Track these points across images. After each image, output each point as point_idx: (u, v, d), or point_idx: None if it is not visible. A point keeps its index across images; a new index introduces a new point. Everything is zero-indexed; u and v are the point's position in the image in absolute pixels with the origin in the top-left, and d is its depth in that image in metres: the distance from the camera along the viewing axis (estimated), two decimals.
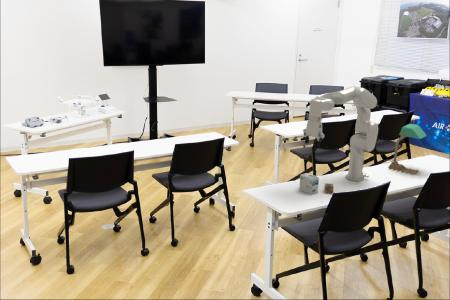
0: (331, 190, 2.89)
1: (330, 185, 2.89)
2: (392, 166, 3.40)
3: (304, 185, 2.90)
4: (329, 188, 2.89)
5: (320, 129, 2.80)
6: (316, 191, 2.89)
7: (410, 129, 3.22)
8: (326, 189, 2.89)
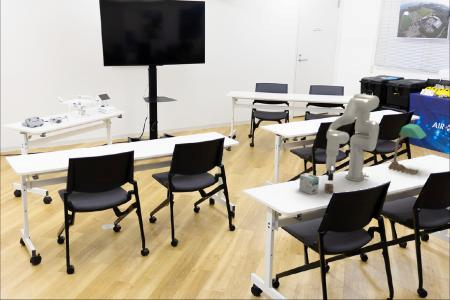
0: (331, 190, 2.89)
1: (330, 185, 2.89)
2: (392, 166, 3.40)
3: (304, 185, 2.90)
4: (329, 188, 2.88)
5: None
6: (316, 191, 2.89)
7: (410, 129, 3.22)
8: (326, 189, 2.89)
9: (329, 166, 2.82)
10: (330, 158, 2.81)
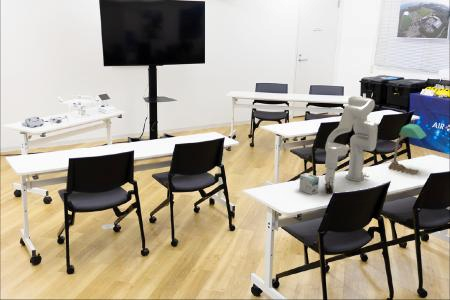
0: None
1: None
2: (392, 166, 3.40)
3: (304, 185, 2.90)
4: None
5: None
6: (316, 191, 2.89)
7: (410, 129, 3.22)
8: (326, 189, 2.89)
9: (328, 179, 2.84)
10: (329, 171, 2.83)
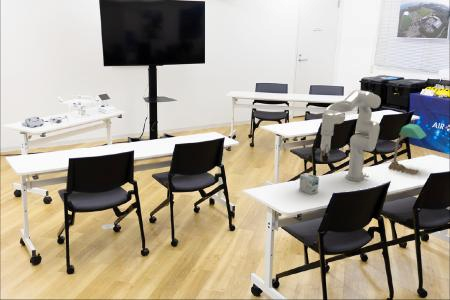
0: None
1: None
2: (392, 166, 3.40)
3: (304, 185, 2.90)
4: None
5: None
6: (316, 191, 2.89)
7: (410, 129, 3.22)
8: (322, 157, 2.83)
9: (324, 146, 2.78)
10: (325, 138, 2.77)
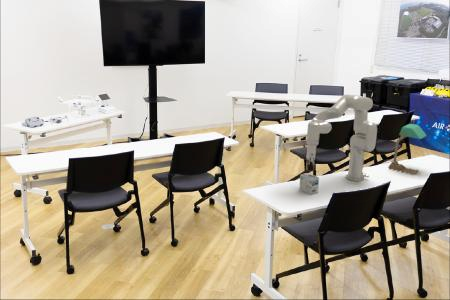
0: None
1: None
2: (392, 166, 3.40)
3: (304, 185, 2.90)
4: None
5: None
6: (316, 191, 2.89)
7: (410, 129, 3.22)
8: (307, 166, 2.85)
9: (309, 155, 2.81)
10: (310, 147, 2.80)
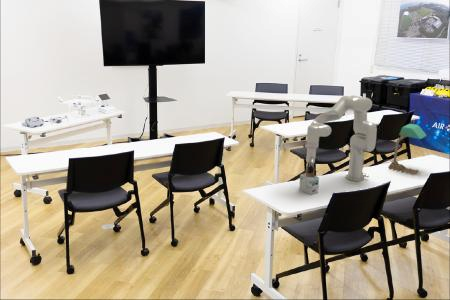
0: (312, 174, 2.86)
1: None
2: (392, 166, 3.40)
3: (304, 185, 2.90)
4: None
5: None
6: (316, 191, 2.89)
7: (410, 129, 3.22)
8: (307, 172, 2.87)
9: (309, 158, 2.81)
10: (310, 150, 2.80)
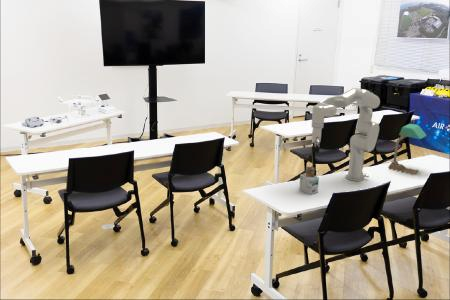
0: (312, 174, 2.86)
1: (311, 169, 2.87)
2: (392, 166, 3.40)
3: (304, 185, 2.90)
4: (310, 171, 2.86)
5: None
6: (316, 191, 2.89)
7: (410, 129, 3.22)
8: (307, 172, 2.87)
9: (315, 138, 2.83)
10: (315, 130, 2.82)
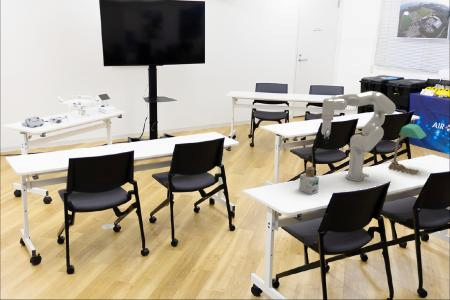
0: (312, 174, 2.86)
1: (311, 169, 2.87)
2: (392, 166, 3.40)
3: (304, 185, 2.90)
4: (310, 171, 2.86)
5: None
6: (316, 191, 2.89)
7: (410, 129, 3.22)
8: (307, 172, 2.87)
9: (324, 130, 2.95)
10: (325, 122, 2.94)
